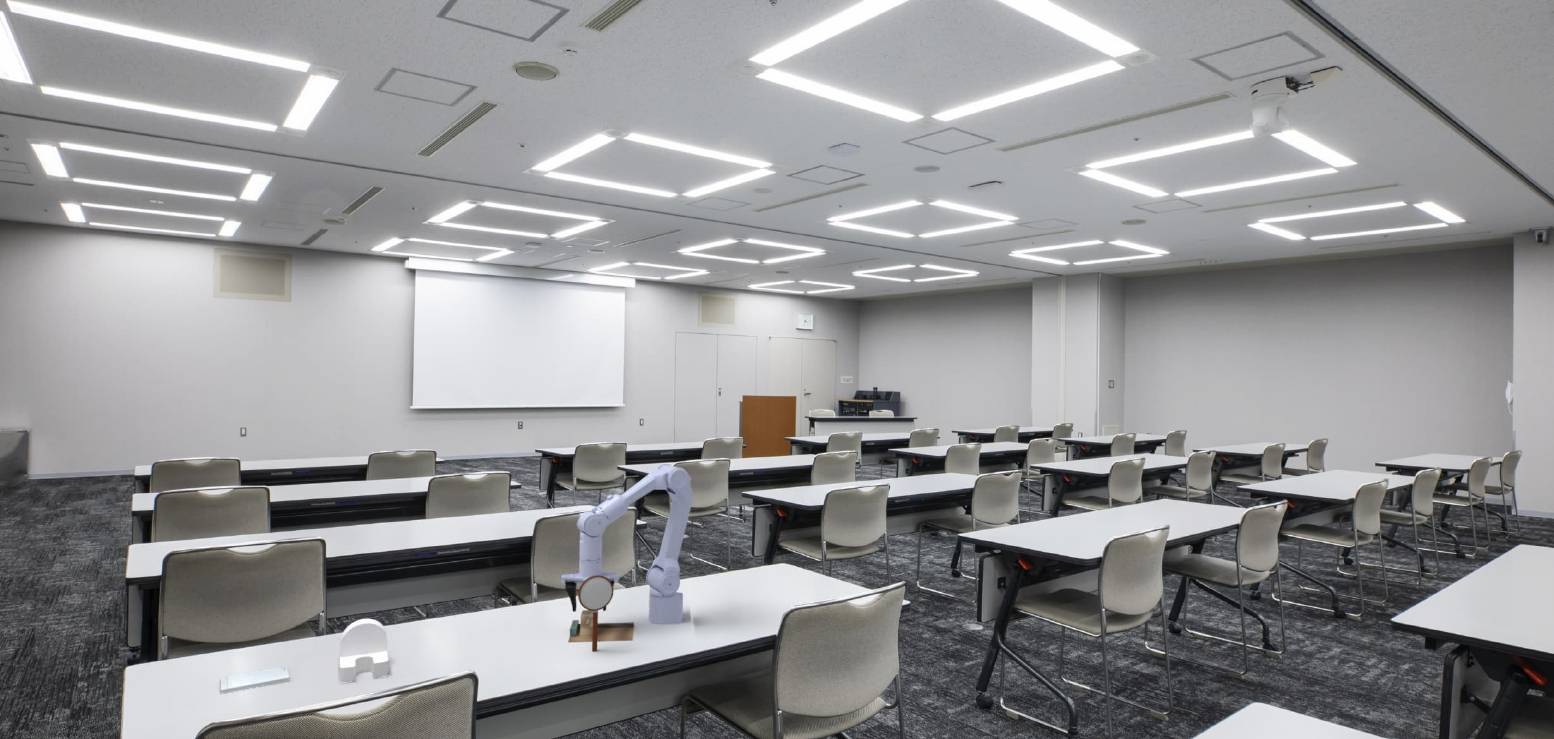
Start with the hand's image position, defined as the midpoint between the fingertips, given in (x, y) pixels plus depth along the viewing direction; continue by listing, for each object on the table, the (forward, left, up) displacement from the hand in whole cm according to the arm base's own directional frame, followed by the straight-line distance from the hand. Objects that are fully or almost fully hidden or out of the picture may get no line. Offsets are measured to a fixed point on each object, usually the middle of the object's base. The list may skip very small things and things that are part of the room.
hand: (589, 610), depth 201 cm
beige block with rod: (0, 0, -6) cm, 6 cm away
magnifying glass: (-2, +14, -8) cm, 16 cm away
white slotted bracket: (+50, +15, -8) cm, 53 cm away
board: (-3, +2, -7) cm, 8 cm away
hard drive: (+70, +22, -8) cm, 74 cm away
